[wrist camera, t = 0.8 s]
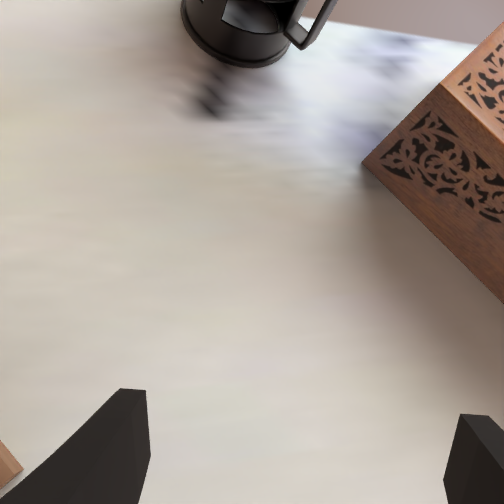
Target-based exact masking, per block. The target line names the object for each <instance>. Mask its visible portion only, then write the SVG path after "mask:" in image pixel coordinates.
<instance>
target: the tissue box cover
mask: <svg viewBox="0 0 504 504" xmlns="http://www.w3.org/2000/svg"><path fill="white" fill-rule="evenodd" d="M362 163H363V164H364V165H365V166H366V167H367V168H368V169H369V170H370V171H371V172H372V173H373V174H374V175H375V176H376V177H377V178H378V179H379V180H380V181H381V182H382V183H383V184H384V185H385V186H386V187H387V188H388V189H389V190H390V191H391V192H392V193H393V194H394V195H395V196H396V197H397V198H398V199H399V200H400V201H401V202H402V203H403V204H404V205H405V206H406V207H407V208H408V209H409V210H410V211H411V212H412V213H413V214H414V215H415V216H416V217H417V218H418V219H419V220H420V221H421V222H422V223H423V224H424V225H425V226H426V227H427V228H428V229H429V230H430V231H431V232H432V233H433V234H434V235H435V236H436V237H437V238H438V239H439V240H440V241H441V242H442V243H443V244H444V245H445V246H446V247H447V248H448V249H449V250H450V251H451V252H452V253H453V254H454V255H455V256H456V257H457V258H458V259H459V260H460V261H461V262H462V263H463V264H464V265H465V266H466V267H467V268H468V269H469V270H470V271H471V272H472V273H473V274H474V275H475V276H476V277H477V278H478V279H479V280H480V281H481V282H482V283H483V284H484V285H485V286H486V287H487V288H488V289H489V290H490V291H491V292H492V293H493V294H494V295H495V296H496V297H497V298H498V299H499V300H500V301H501V302H502V303H503V304H504V22H503V23H502V24H501V25H500V26H498V27H497V28H496V29H495V30H494V31H493V32H492V33H491V34H490V35H489V36H488V37H487V38H486V39H485V40H484V41H483V42H482V43H481V44H480V45H479V46H478V47H476V48H475V49H474V50H473V51H472V52H471V53H470V54H469V55H468V56H467V57H466V58H465V59H464V60H463V61H462V62H461V63H460V64H459V65H458V66H457V67H456V68H455V69H454V70H452V71H451V72H450V73H449V74H448V75H447V76H446V77H445V78H444V79H443V80H442V81H441V82H440V83H439V84H438V85H437V86H436V87H435V88H434V89H433V90H432V91H431V92H430V93H429V94H428V95H427V96H426V97H425V98H424V99H423V100H422V101H421V102H420V103H419V104H418V105H417V106H416V107H415V108H414V109H413V110H412V111H411V112H410V113H409V114H408V115H407V116H406V117H405V119H404V120H403V121H402V122H401V123H400V124H399V125H398V126H397V127H396V128H395V129H394V130H393V131H392V132H391V133H390V134H389V135H388V136H387V137H386V138H385V139H384V140H383V141H382V142H381V143H380V144H379V145H378V146H377V147H376V148H375V149H374V150H373V151H372V152H371V153H370V154H369V155H368V156H367V157H366V158H365V159H364V160H363V161H362Z"/></svg>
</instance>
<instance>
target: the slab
mask: <svg viewBox="0 0 504 504" xmlns="http://www.w3.org/2000/svg"><path fill="white" fill-rule="evenodd" d="M22 470H23V467H22V466H21V465H20V464H19V462H18V461H17V460H16V459H15V458H14V456H13V455H12V454H11V453H10V451H9V450H8V449H7V448H6V447H5V445H4V444H3V443H2V442H1V440H0V489H1V488H2V487H4V486H5V485H6V484H7V483H8V482H9V481H11V480H12V479H13V478H14V477H15V476H16V475H18V474H19V473H20V472H21V471H22Z"/></svg>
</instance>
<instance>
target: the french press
mask: <svg viewBox="0 0 504 504" xmlns="http://www.w3.org/2000/svg"><path fill="white" fill-rule="evenodd" d="M259 1H263V2H265V3H266V4H267V5H268V6H269V7H270V8H271V10H272V11H273V13H274V15H275V17H276V20H277V24H278V32H274V33H254V32H250V31H246V30H242V29H240V28H237V27H235V26H232V25H230V24H229V23H227V22H225V21H224V20H222V16H223V13H224V10H225V6H226V3H227V0H204V1H202V0H182V4H181V13H182V19H183V22H184V25H185V27H186V30H187V31H188V33H189V34H190V36H191V37H192V39H193V40H194V41H195V42H196V43H197V44H198V45H199V46H200V47H201V48H202V49H203V50H204V51H206V52H207V53H208V54H209V55H211V56H213V57H215V58H216V59H218V60H220V61H223V62H225V63H228V64H230V65H234V66H239V67H247V68H256V67H263V66H266V65H269V64H272V63H274V62H275V61H277V60H279V59H280V58H281V57H282V56H283V55H284V54H285V53H286V51H287V49H288V47H289V45H290V43H293V44H294V45H295V46H296V47H297V48H298V49H299V50H304V49H305V48H307V47H308V46H309V45H310V44H312V43H313V42H314V41H315V40H316V38H317V37H318V35H319V33H320V31H321V30H322V28H323V26H324V24H325V22H326V21H327V19H328V17H329V15H330V13H331V12H332V10H333V8H334V6H335V4H336V3H337V1H338V0H326V1H325V2H324V4H323V6H322V8H321V10H320V12H319V14H318V16H317V18H316V20H315V21H314V23H313V25H312V27H311V29H310V31H309V32H308V31H306V30H305V29H304V28H303V27H302V26H301V25H300V24H299V23H298V21H299V19H300V17H301V15H302V12H303V10H304V7H305V6H306V4H307V2H308V0H259Z"/></svg>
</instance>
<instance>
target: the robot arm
mask: <svg viewBox="0 0 504 504" xmlns="http://www.w3.org/2000/svg"><path fill="white" fill-rule="evenodd" d="M150 457H151V453H150V440H149V427H148V414H147V401H146V390H136V389H122V388H120V389H119V390H118V391H116V392H115V393H114V394H113V395H112V396H111V397H110V398H109V399H108V400H107V401H106V402H105V403H104V404H103V405H102V406H101V407H100V408H99V409H98V410H97V411H96V412H95V413H94V414H93V415H92V416H91V417H90V418H89V419H88V420H87V421H86V422H85V423H84V424H83V425H82V426H81V427H80V428H79V429H78V430H77V431H76V432H75V433H74V434H73V435H72V436H71V437H70V438H69V439H68V440H67V441H66V442H65V443H64V444H63V445H61V446H60V447H59V448H58V449H57V450H56V451H55V452H54V453H53V454H52V455H51V456H50V457H49V458H47V459H46V460H45V461H44V462H43V463H42V464H41V465H40V466H38V467H37V468H36V469H35V470H34V471H33V472H31V473H30V474H29V475H28V476H27V477H26V478H25V479H23V480H22V481H21V482H20V483H19V484H18V485H16V486H15V487H14V488H13V489H12V490H10V491H9V492H8V493H7V494H5V495H4V496H3V497H2V498H1V499H0V504H138V502H139V499H140V495H141V492H142V488H143V484H144V481H145V477H146V473H147V469H148V465H149V461H150ZM443 482H444V486H445V491H446V495H447V500H448V504H504V431H503V430H502V429H501V428H500V427H499V426H498V425H497V424H496V423H495V422H494V421H493V420H492V419H491V418H490V417H489V416H485V415H471V414H460V417H459V420H458V424H457V428H456V432H455V436H454V440H453V444H452V448H451V451H450V455H449V459H448V463H447V467H446V471H445V475H444V478H443Z"/></svg>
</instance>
